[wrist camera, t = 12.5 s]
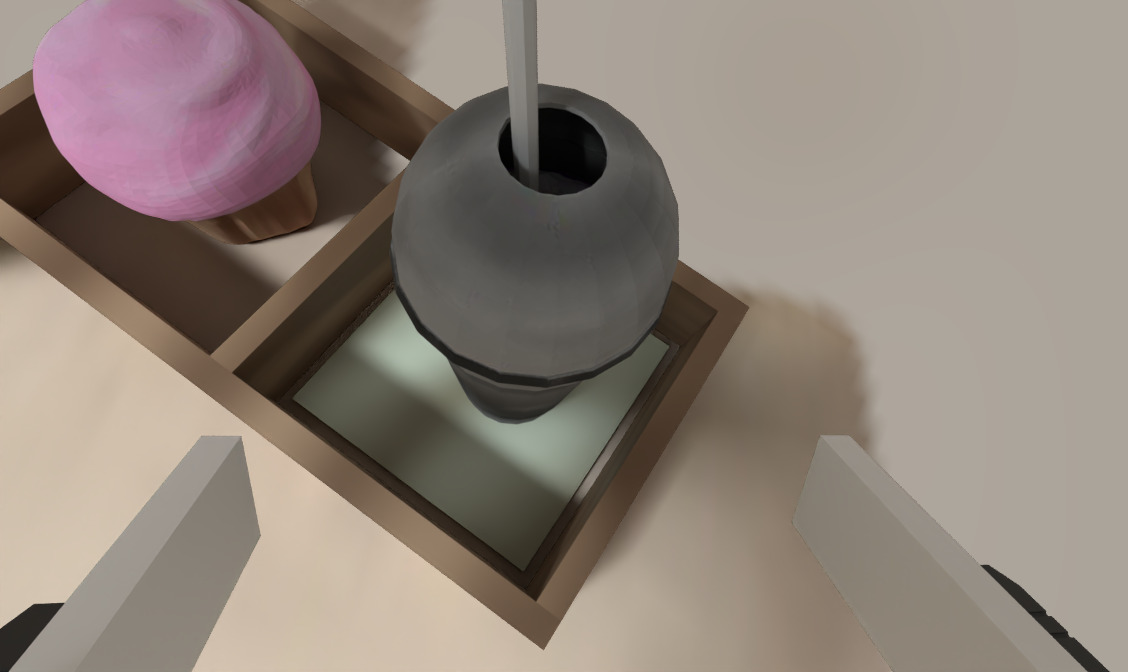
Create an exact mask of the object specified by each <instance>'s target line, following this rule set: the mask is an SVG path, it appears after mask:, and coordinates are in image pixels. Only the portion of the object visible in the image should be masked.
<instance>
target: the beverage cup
mask: <svg viewBox="0 0 1128 672" xmlns="http://www.w3.org/2000/svg"><path fill="white" fill-rule="evenodd" d="M502 3H503V17H504V18H503V19H504V33H505V46H506V61H507V76H508V86H507V87H504V88H501V89H498V90H495V91H493V92H490V93H487V94H485V95H482V96H480V97H477V98H474V99H472V100H470V101H468V102H466V103H464V104H463V105H462V106H461V107H459V108H458V109H457V110H455V111H454V112H453V113H451V114H450V115H449V116H447V117H446V118H445V119H443V120H442V121H441V122H440V123H438V124H437V125H436V126H435V127H434V128H433V129H432V130H431V131H430V133H429V134H428V135H427V136H426V138H425V140H424V141H423V143H422V144H421V146H420V147H419V149H418V150H417V152H416V153H415V155H414V156H413V158H412V159H411V161H410V163H409V164H408V166H407V168H406V170H405V172H404V174H403V177H402V179H401V183H400V188H399V193H398V197H397V202H396V207H395V211H394V216H393V223H392V230H391V232H392V240H391V245H390V250H389V255H390V261H391V267H392V273H393V280H394V286H395V292H396V295H397V297H398V298H399V300H400V302H401V304H402V306H403V307H404V309H405V311H406V313H407V314H408V316H409V318H410V320H411V321H412V323H413V325H414V327H415V329H416V330H417V332H418V333H419V334H420V335H421V336H422V337H424V338H425V339H426V340H427V341H428V342H429V343H430V344H431V345H433V346H434V347H435V348H436V349H437V350H438V351H439V352H441V353H442V354H443V355H444V356H445V357H446V358H447V360H448V362H449V364H450V366H451V368H452V370H453V371H454V373H455V375H456V377H457V379H458V381H459V383H460V385H461V387H462V389H463V390H464V392H465V394H466V396H467V397H468V399H469V401H471V402H472V404H473V405H474V407H476V408H477V409H478V410H479V411H480V412H481V413H482V414H483V415H485V416H486V417H488V418H490V419H493V420H495V421H497V422H499V423H506V424H516V425H517V424H521V423H526V422H531V421H533V420H535V419H537V418H539V417H540V416H542V415H544V414H545V413H547V412H548V411H550V410H552V409H553V408H554V407H555V406H556V405H558V404H559V403H560V402H561V401H562V400H563V399H564V398H565V397H566V396H567V395H568V394H569V393H570V392H571V391H572V390H573V389H575V388H576V387H577V386H578V385H579V384H580V383H581V382H582V381H583V380H588V379H592V378H594V377H596V376H598V375H599V374H601V373H603V372H604V371H606V370H608V369H610V368H611V367H613V366H615V365H617V364H618V363H620V362H622V361H623V360H625V359H627V358H629V357H630V356H631V355H632V354H633V353H634V352H635V351H636V350H637V348H638V347H639V346H640V345H641V344H642V342H643V341H644V340H645V339H646V338H647V337H648V335H649V334H650V333H651V332H652V331H653V330H654V328H655V327H656V326H657V325H658V322H659V320H660V317H661V314H662V311H663V309H664V306H665V303H666V301H667V298H668V295H669V292H670V290H671V286H672V278H673V275H674V272H675V269H676V266H677V261H678V257H679V230H678V229H679V223H678V222H679V218H678V204H677V201H676V198H675V196H674V193H673V190H672V187H671V184H670V182H669V179H668V176H667V173H666V170H665V168H664V165H663V162H662V160H661V158H660V156H659V155H658V154H657V152H656V151H655V150H654V149H653V147H652V146H651V145H650V143H649V142H648V141H647V139H646V138H645V137H644V135H643V134H642V133H641V131H640V130H639V129H638V128H637V127H636V125H635V124H634V123H633V122H631V121H630V120H629V119H627V118H626V117H625V116H624V115H622V114H621V113H620V112H618V111H617V110H616V109H614V108H613V107H612V106H610V105H609V104H608V103H606V102H604V101H602V100H599V99H597V98H594V97H592V96H589V95H587V94H585V93H582V92H580V91H578V90H575V89H571V88H565V87H558V86H552V85H545V84H538V76H537V75H538V73H537V7H536V0H502Z"/></svg>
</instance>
